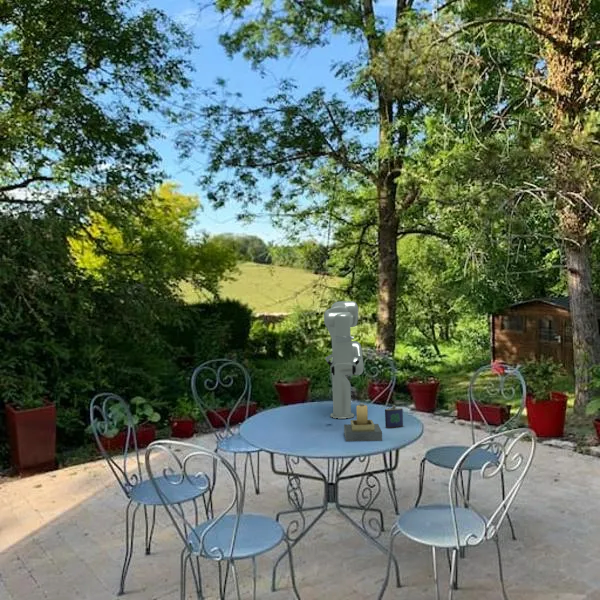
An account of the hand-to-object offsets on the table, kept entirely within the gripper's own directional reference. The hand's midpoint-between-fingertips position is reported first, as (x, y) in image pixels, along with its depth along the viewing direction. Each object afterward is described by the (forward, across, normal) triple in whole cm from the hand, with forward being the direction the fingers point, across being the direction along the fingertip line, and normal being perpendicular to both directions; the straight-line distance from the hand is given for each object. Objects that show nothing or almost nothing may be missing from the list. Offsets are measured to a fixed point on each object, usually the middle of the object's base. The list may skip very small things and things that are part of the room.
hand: (343, 374), depth 258 cm
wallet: (+27, -24, +1) cm, 36 cm away
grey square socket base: (+26, -7, +16) cm, 31 cm away
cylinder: (+22, -7, +16) cm, 28 cm away
